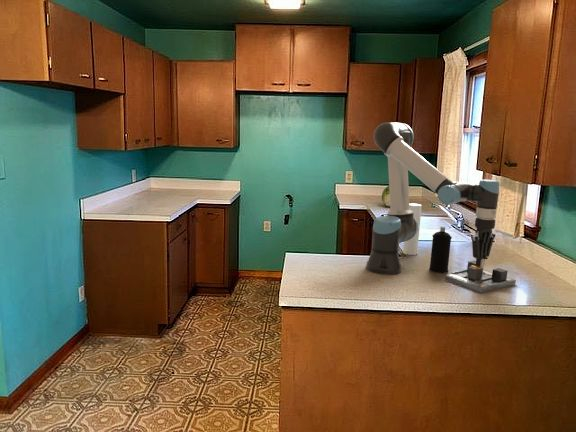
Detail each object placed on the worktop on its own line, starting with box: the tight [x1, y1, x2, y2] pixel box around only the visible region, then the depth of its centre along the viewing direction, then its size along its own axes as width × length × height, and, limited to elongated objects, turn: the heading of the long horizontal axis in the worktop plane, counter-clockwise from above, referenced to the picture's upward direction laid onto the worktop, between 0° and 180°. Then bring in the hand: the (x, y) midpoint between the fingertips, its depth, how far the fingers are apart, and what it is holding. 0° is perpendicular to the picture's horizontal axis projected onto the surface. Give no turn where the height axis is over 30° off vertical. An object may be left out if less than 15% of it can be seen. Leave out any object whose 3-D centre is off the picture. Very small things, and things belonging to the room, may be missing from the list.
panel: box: [444, 260, 517, 294], centre depth 195 cm, size 22×18×6 cm
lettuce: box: [381, 185, 390, 208], centre depth 374 cm, size 17×23×16 cm
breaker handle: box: [467, 265, 484, 280], centre depth 193 cm, size 4×4×5 cm
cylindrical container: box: [402, 202, 422, 256], centre depth 236 cm, size 7×7×25 cm
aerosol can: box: [428, 226, 452, 274], centre depth 208 cm, size 8×8×20 cm
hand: (478, 273), depth 195 cm, fingers closed
